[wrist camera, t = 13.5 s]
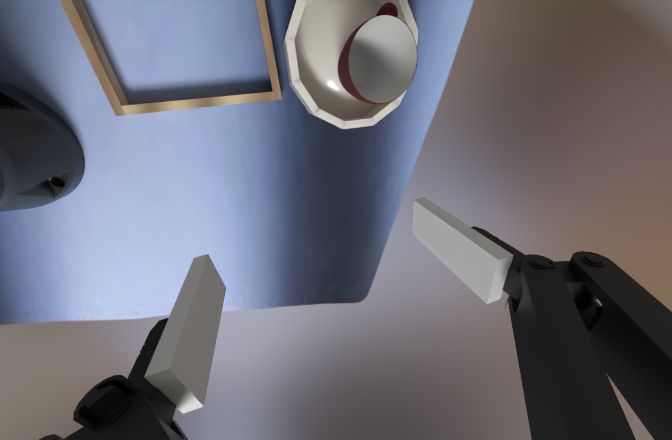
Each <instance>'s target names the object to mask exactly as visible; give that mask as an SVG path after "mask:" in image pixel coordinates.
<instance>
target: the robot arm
mask: <svg viewBox="0 0 672 440" xmlns="http://www.w3.org/2000/svg"><path fill="white" fill-rule="evenodd" d="M83 173H84V158H83V153H82V150H81V148H80V145H79V143H78V141H77V139H76V137H75V136H74V134H73V133H72V131H71V130H70V129H69V127H68V126H67V125H66V124H65V123H64V122H63V120H62V119H61V118H60V117H59V116H58V115H57V114H55V113H54V112H53V111H52V110H51V109H50V108H48V107H47V106H46V105H45V104H43V103H42V102H40V101H39V100H37V99H36V98H34V97H33V96H31V95H29V94H28V93H26V92H24V91H22V90H20V89H18V88H16V87H14V86H12V85H9V84H7V83H4V82H2V81H0V212H1V211H10V210H19V209H28V208H34V207H39V206H43V205H46V204H49V203H51V202H54V201H56V200H58V199H60V198H62V197H64V196H66V195H68V194H69V193H71V192H72V191H73V190H74V189H75V188H76V187H77V186H78V185H79V183H80V181H81V179H82V177H83ZM413 235H414V236H415V237H416V238H418V240H420V241H421V242H422V243H423V244H424V245H425V246H426V247H427V248H428V249H429V250H430V251H431V252H432V253H433V254H434V255H435V256H436V257H438V258H439V259H440V260H441V261H442V262H443V263H444V264H445V265H446V266H447V267H448V268H449V269H450V270H451V271H453V273H455V274H456V275H457V276H458V277H459V278H460V279H461V280H462V281H463V282H464V283H465V284H466V285H467V286H468V287H469V288H470V289H472V290H473V291H474V292H475V293H476V294H477V295H478V296H479V297H480V298H481V299H482V300H483V301H484V302H485V303H487V304H488V303H490V302H493V301H496V300H498V299H500V298H501V294H502V291H503V290H504V291H505V292H506V293H507V294H509V297H508V300H507V303H506V306H505V310H504V311H506V312H507V311H508V308H509V310H510V316H511V322H512V328H513V333H514V339H515V345H516V350H517V357H518V362H519V368H520V373H521V380H522V386H523V391H524V397H525V403H526V408H527V414H528V420H529V426H530V431H531V437H532V440H636V439H635V437H634V435H633V432H632V430H631V428H630V426H629V423H628V421H627V419H626V417H625V415H624V412H623V410H622V408H621V405H620V403H619V401H618V399H617V397H616V394H615V392H614V390H613V387H612V385H611V383H610V381H609V379H608V376H609V377H610V379H611V380H612V382H613V383H614V384H615V386H616V387H617V389H618V390H619V391H620V393H621V394H622V395H623V397H624V398H625V400H626V401H627V402H628V404H629V405H630V407H631V408H632V409H633V411H634V412H635V414H636V415H637V416H638V418H639V419H640V420H641V422H642V423H643V425H644V426H645V427H646V428H647V430H648V431H649V433H650V434H651V436H652V437H653V438H654V440H672V312H671V311H670V310H669V309H668V308H666V307H665V306H664V305H663V304H662V303H661V302H659V301H658V300H657V299H656V298H655V297H654V296H652V295H651V294H650V293H649V292H648V291H646V290H645V289H644V288H643V287H642V286H641V285H639V284H638V283H637V282H636V281H635V280H634V279H632V278H631V277H630V276H629V275H628V274H627V273H625V272H624V271H623V270H622V269H621V268H619V267H618V266H617V265H616V264H615V263H614V262H612V261H611V260H609V259H608V258H606V257H604V256H601V255H599V254H596V253H592V252H584V251H582V252H576V253H574V254H573V255H572V257H571V260H570V261H561V262H560V261H559V262H554V261H552V260H551V259H548V258H546V257H544V256H540V255H530V254H529V255H524V254H523V253H521V252H519V251H518V250H516V249H515V248H513V247H512V246H510V245H508V244H507V243H505V242H503V241H502V240H499V238H497V237H495V236H493V235H492V234H490V233H489V232H487V231H485V230H484V229H481V228H478V227H475V226H474V227H469V226H468V225H466V224H464V223H463V222H461V221H459V220H458V219H457V218H455V217H454V216H452V215H451V214H449V213H448V212H446V211H444V210H443V209H441V208H440V207H438V206H437V205H435V204H434V203H432V202H430V201H429V200H427V199H426V198H420V199H416V200H414V209H413ZM225 291H226V287H225V285H224V283H223V281H222V279H221V278H220V276H219V274H218V272H217V270H216V268H215V266H214V264H213V262H212V261H211V259H210V257H209V255H208V254H207V255H203V256H199V257H196V258H194V259H193V262H192V264H191V267H190V269H189V271H188V274H187V276H186V279H185V281H184V283H183V286H182V288H181V290H180V293H179V295H178V298H177V300H176V302H175V305H174V307H173V310H172V312H171V314H170V317H169V318H166V319H163V320H160V321H159V322H158V323H157V324H156V325H155V326H154V328H153V329H152V330H151V331H150V333H149V335H148V337H147V339H146V341H145V345H143V347H142V349H141V351H140V355H139V356H138V358H137V360H136V362H135V364H134V366H133V368H132V370H131V373H130V374H129V377H128V379H127V378H125V377H124V376H122V375H114V376H112V377H109V378H107V379H105V380H103V381H102V382H100V383H99V384H97V385H96V386H94V387H93V388H92V389H91V390H90V391H89V392H88V393H87V394H86V395H85V396H84V397H83V398H82V400H81V401H80V402H79V403H78V405H77V407H76V409H75V411H74V419H73V420H74V421H76V422H78V423H79V424H81V425H82V426H84V427H83V428H81V429H79V430H78V431H76V432H74V433H73V434H71V435H69V436H68V437H66V438H64V439H63V438H61V437H59V436H57V435H54V434H53V435H49V436H45V437H43V438H42V439H39V440H188V439H187V437H186V436H185V434H184V433H183V431H182V430H181V428H180V427H179V426H178V424H177V423H176V422H175V421H174V420H173V416H174V412H175V409H176V407H177V408H178V409H179V410H180V411H181V412H182V413H186V412H189V411H192V410H195V409H197V408H200V407H203V406H204V401H205V396H206V391H207V385H208V380H209V375H210V370H211V365H212V359H213V354H214V349H215V344H216V338H217V333H218V328H219V323H220V317H221V312H222V307H223V302H224V296H225ZM596 299H598V300H599V301H600V302H601V304H602V306H600V305H599V304H598V303H597V301H596ZM606 373H607V374H606ZM607 375H608V376H607Z"/></svg>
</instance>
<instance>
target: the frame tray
mask: <svg viewBox="0 0 672 440" xmlns="http://www.w3.org/2000/svg"><path fill="white" fill-rule="evenodd" d="M255 1H256V6H257V11H258V16H259V22H260V27H261V32H262V38H263V43H264V48H265V53H266V59H267V64H268V69H269V75H270V80H271V85H272V90H273V92H263V93H253V94H242V95H231V96H221V97H210V98H200V99H189V100H178V101H168V102H157V103H147V104H136V105H129V102H128V100H127V98H126V96H125V94H124V92H123V89H122V87H121V85H120V83H119V81H118V78H117V76H116V74H115V72H114V70H113V68H112V65H111V63H110V61H109V59H108V57H107V54H106V52H105V50H104V48H103V46H102V43H101V41H100V39H99V37H98V35H97V33H96V30H95V28H94V26H93V24H92V22H91V19H90V17H89V15H88V13H87V11H86V9H85V6H84V4H83V2H82V0H60V2H61V4H62V6H63V8H64V10H65V12H66V14H67V16H68V19H69V21H70V23H71V25H72V27H73V29H74V31H75V33H76V35H77V37H78V39H79V41H80V43H81V45H82V47H83V49H84V51H85V53H86V55H87V57H88V59H89V61H90V63H91V65H92V67H93V69H94V71H95V73H96V75H97V77H98V79H99V82H100V84H101V86H102V88H103V90H104V92H105V94H106V96H107V98H108V100H109V102H110V104H111V106H112V108H113V110H114V112H115V114H116V116H120V115H130V114H140V113H150V112H160V111H170V110H180V109H190V108H200V107H210V106H219V105H229V104H239V103H249V102H259V101H269V100H279V99H282V97H281V91H280V85H279V80H278V74H277V68H276V62H275V57H274V51H273V45H272V40H271V34H270V28H269V22H268V17H267V11H266V5H265V0H255Z"/></svg>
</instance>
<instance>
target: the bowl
mask: <svg viewBox="0 0 672 440" xmlns="http://www.w3.org/2000/svg"><path fill="white" fill-rule="evenodd" d="M387 2H391V3H393V4H394V5H395V6H396V7H397V9H398V18H400V19H401V20H402V21H404V22H405V23H406V24H407V26H408V27H409V28H410V30H411V31H412V33H413V36H414V38H415V41H416V46H417V36H418V29H417V26H416V23H415V21H414V18H413V15H412V12H411V9H410V7H409V4H408V1H407V0H297V1H296V4H295V7H294V10H293V14H292V17H291V20H290V24H289V27H288V30H287V33H286V37H285V40H284V44H283V45H284V52H285V58H286V65H287V71H288V77H289V84H290V86H291V87H292V89H293V90H294V91H295V93H296V94H297V96H298V97H299V99H300V100H301V102H302V103H303V104H304V106H305V107H306V109H307V110H308V112H309V113H310V114H312V115H314V116H316V117H319V118H321V119H323V120H325V121H327V122H329V123H331V124H333V125H335V126H337V127H339V128H342V129H349V128H356V127H364V126H372V125H374V124H376V123H377V122H378V121H379V120H381V119H382V118H383V117H384V116H386V115H387V114H388V113H390V112H391V111H392V110H393V109H395V108H396V107H397V106H398V105H399V104H400V102H401V100H402V98H403V96H404V94H405V92H406V91H405V92H404V93H403V94H402V95H401V96H400V97H398V98H397V99H395V100H394V101H391V102H389V103H385V104H369V103H365V102H362V101H360V100H358V99H356V98H355V97H353V96H352V95H351V94H349V93H348V92H347V91H346V90H345V89H344V88H343V86H342V85H341V83H340V80H339V77H338V60H339V57H340V54H341V52H342V50H343V47H344V45H345V43H346V41H347V39H348V38H349V36H350V35H351V34H352V33H353V31H354V30H355V29H356V28H357V27H358V26H360V25H361V24H362V23H364V22H365V21H367V20H368V19H370V18H372V17H374V16H376V14H377V13H378V11H379V10H380V8H381V7H382V6H383V5H384V4H385V3H387ZM406 90H407V89H406Z"/></svg>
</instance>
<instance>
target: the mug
mask: <svg viewBox="0 0 672 440" xmlns="http://www.w3.org/2000/svg"><path fill="white" fill-rule="evenodd" d="M416 66H417V46H416V41H415V38H414V36H413V33H412V31H411V30H410V28H409V27H408V26H407V24H406V23H405V22H404V21H402V20H401V19H400V18H398V9H397V7H396V6H395V5H394V4H393V3H391V2H387V3H385V4H384V5H383V6H382V7H381V8H380V10H379V11H378V13H377V14H376V16H374V17H372V18H370V19H368V20H367V21H365V22H364V23H362V24H361V25H360V26H358V27H357V28H356V29H355V30H354V31H353V33H352V34H351V35H350V36H349V38H348V39H347V41H346V43H345V45H344V47H343V50H342V52H341V54H340V57H339V60H338V77H339V80H340V83H341V85H342V86H343V88H344V89H345V90H346V91H347V92H348V93H349V94H351V95H352V96H353V97H355V98H356V99H358V100H360V101H362V102H365V103H369V104H385V103H389V102H391V101H394V100H395V99H397V98H398V97H400V96H401V95H402V94H403V93H404V92H405V91H406V89H407V88H408V87H409V85H410V83H411V81H412V79H413V77H414V74H415V71H416Z"/></svg>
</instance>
